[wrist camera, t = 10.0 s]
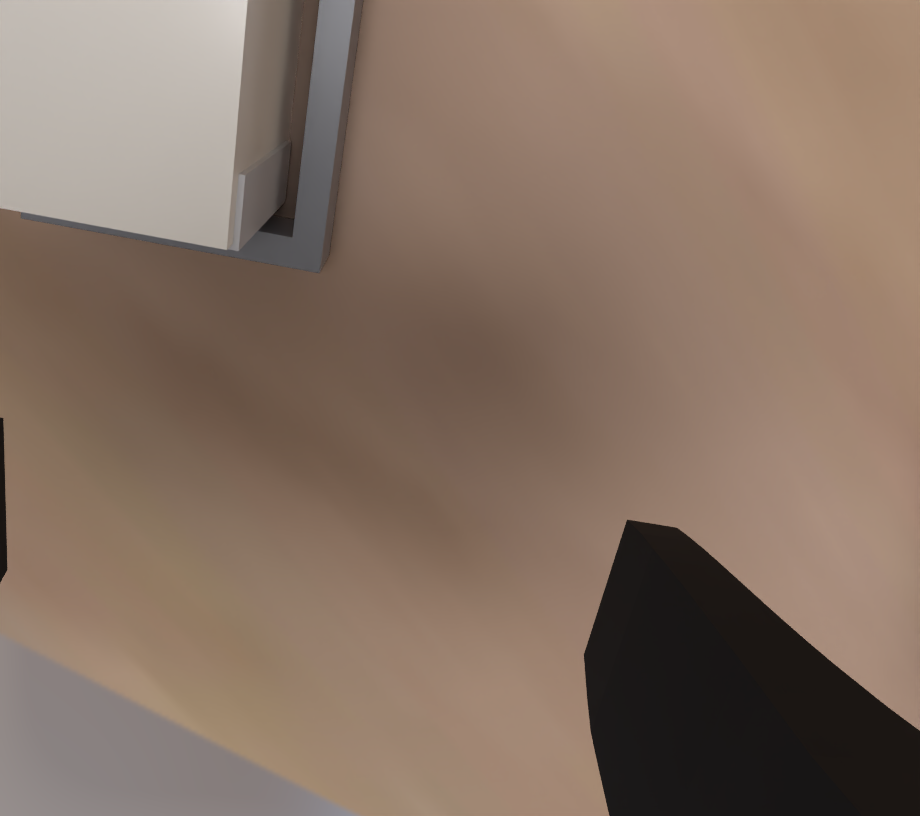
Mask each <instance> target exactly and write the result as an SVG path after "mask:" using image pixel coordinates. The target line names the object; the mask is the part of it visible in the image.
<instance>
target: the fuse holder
mask: <svg viewBox="0 0 920 816" xmlns="http://www.w3.org/2000/svg"><path fill="white" fill-rule="evenodd" d="M362 6H363V0H320V2H319V11H318V20H317V28H316V37H315V46H314V54H313V63H312V72H311V81H310V89H309V98H308V107H307V115H306V124H305V133H304V141H303V150H302V159H301V168H300V176H299V185H298V194H297V202H296V211H295V220H294V219H289V218H284V217H278V216H273V215H272V216H271V217H270V218H269V219H268V220H267V221H266V223H265V224H264V225H263V226H262V227H261V228H260V229H259V230H258V231H257V232H256V233H255V234H254V235H253V236H252V237H251V239H250V240H249V241H248V242H247V243H246V244H245V245H244V246H243V247H242V248H241V249H240V250H239V251H235V250H229V249H227V250H224V249H219V248H213V247H208V246H202V245H197V244H192V243H186V242H181V241H175V240H170V239H165V238H159V237H154V236H148V235H143V234H138V233H132V232H127V231H121V230H116V229H111V228H105V227H100V226H94V225H89V224H84V223H78V222H73V221H67V220H62V219H57V218H51V217H46V216H40V215H35V214H30V213H24V212H21V218H22V219H28V220H33V221H39V222H44V223H49V224H55V225H60V226H66V227H71V228H77V229H82V230H88V231H93V232H98V233H104V234H109V235H115V236H120V237H126V238H131V239H136V240H142V241H147V242H153V243H158V244H164V245H169V246H174V247H180V248H185V249H191V250H196V251H202V252H207V253H212V254H218V255H223V256H229V257H234V258H240V259H245V260H250V261H256V262H261V263H267V264H272V265H278V266H283V267H288V268H294V269H299V270H305V271H310V272H316V273H320V271H321V269H322V268H323V266H324V264H325V262H326V260H327V258H328V256H329V253H330V245H331V238H332V230H333V223H334V215H335V208H336V201H337V193H338V186H339V178H340V171H341V163H342V156H343V148H344V141H345V133H346V126H347V118H348V111H349V103H350V96H351V88H352V81H353V73H354V66H355V59H356V51H357V44H358V36H359V29H360V21H361V14H362Z"/></svg>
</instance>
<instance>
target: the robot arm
mask: <svg viewBox="0 0 920 816" xmlns="http://www.w3.org/2000/svg"><path fill="white" fill-rule="evenodd" d="M6 571H7V539H6V502H5V465H4V428H3V418H0V582H1V580H2V578H3V577H4V575H5V573H6ZM584 661H585V674H586V687H587V699H588V709H589V719H590V728H591V735H592V739H593V744H594V749H595V754H596V758H597V762H598V767H599V771H600V776H601V780H602V785H603V789H604V794H605V798H606V802H607V807H608V811H609V815H610V816H920V731H919V730H918V729H916V728H915V727H914V726H912V725H911V724H910V723H908V722H907V721H906V720H904V719H903V718H902V717H900V716H899V715H898V714H896V713H895V712H894V711H892V710H891V709H890V708H888V707H887V706H886V705H884V704H883V703H882V702H880V701H879V700H878V699H877V698H875V697H874V696H873V695H872V694H871V693H869V692H868V691H867V690H866V689H864V688H863V687H862V686H861V685H859V684H858V683H857V682H856V681H854V680H853V679H852V678H851V677H849V676H848V675H847V674H846V673H844V672H843V671H842V670H841V669H839V668H838V667H837V666H836V665H834V664H833V663H832V662H831V661H830V660H828V659H827V658H826V657H825V656H824V655H823V654H821V653H820V652H819V651H818V650H817V649H816V648H814V647H813V646H812V645H811V644H810V643H808V642H807V641H806V640H805V639H804V638H803V637H801V636H800V635H799V634H798V633H797V632H796V631H795V630H793V629H792V628H791V627H790V626H789V625H788V624H787V623H786V622H784V621H783V620H782V619H781V618H780V617H779V616H778V615H777V614H775V613H774V612H773V611H772V610H771V609H770V608H769V607H768V606H766V605H765V604H764V603H763V602H762V601H761V600H760V599H759V598H758V597H756V596H755V595H754V594H753V593H752V592H751V591H750V590H749V589H748V588H747V587H745V586H744V585H743V584H742V583H741V582H740V581H739V580H738V579H737V578H736V577H734V576H733V575H732V574H731V573H730V572H729V571H728V570H727V569H726V568H724V567H723V566H722V565H721V564H720V563H719V562H718V561H717V560H716V559H714V558H713V557H712V556H711V555H710V554H709V553H708V552H706V551H705V550H704V549H703V548H702V547H701V546H699V545H698V544H697V543H696V542H695V541H693V540H692V539H691V538H690V537H688V536H687V535H686V534H684V533H683V532H682V531H680V530H679V529H678V528H675V527H669V526H662V525H656V524H650V523H644V522H638V521H632V520H627V522H626V525H625V528H624V531H623V534H622V538H621V541H620V544H619V547H618V550H617V553H616V556H615V559H614V563H613V566H612V569H611V572H610V575H609V578H608V581H607V584H606V588H605V591H604V594H603V597H602V600H601V603H600V606H599V609H598V613H597V616H596V619H595V622H594V625H593V628H592V631H591V634H590V638H589V641H588V644H587V647H586V650H585V653H584Z"/></svg>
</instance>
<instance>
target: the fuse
mask: <svg viewBox="0 0 920 816" xmlns="http://www.w3.org/2000/svg"><path fill="white" fill-rule="evenodd" d="M303 8H304V0H0V208H2V209H8V210H13V211H19V212H24V213H30V214H35V215H40V216H46V217H51V218H57V219H62V220H67V221H73V222H78V223H84V224H89V225H94V226H100V227H105V228H111V229H116V230H121V231H127V232H132V233H138V234H143V235H148V236H154V237H159V238H165V239H170V240H175V241H181V242H186V243H192V244H197V245H202V246H208V247H213V248H219V249H224V250H227V249H229V250H235V251H239V250H240V249H241V248H242V247H243V246H244V245H245V244H246V243H247V242H248V241H249V240H250V239H251V237H252V236H253V235H254V234H255V233H256V232H257V231H258V230H259V229H260V228H261V227H262V226H263V225H264V224H265V223H266V221H267V220H268V219H269V218H270V217H271V216H272V215H273V214H274V213H275V212H276V211H277V210H278V209H279V208H280V207H281V205H282V204H283V203H284V202H285V198H286V189H287V179H288V170H289V161H290V152H291V143H292V142H291V141H289V137H290V128H291V119H292V109H293V100H294V91H295V82H296V72H297V63H298V54H299V45H300V36H301V26H302V17H303Z"/></svg>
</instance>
